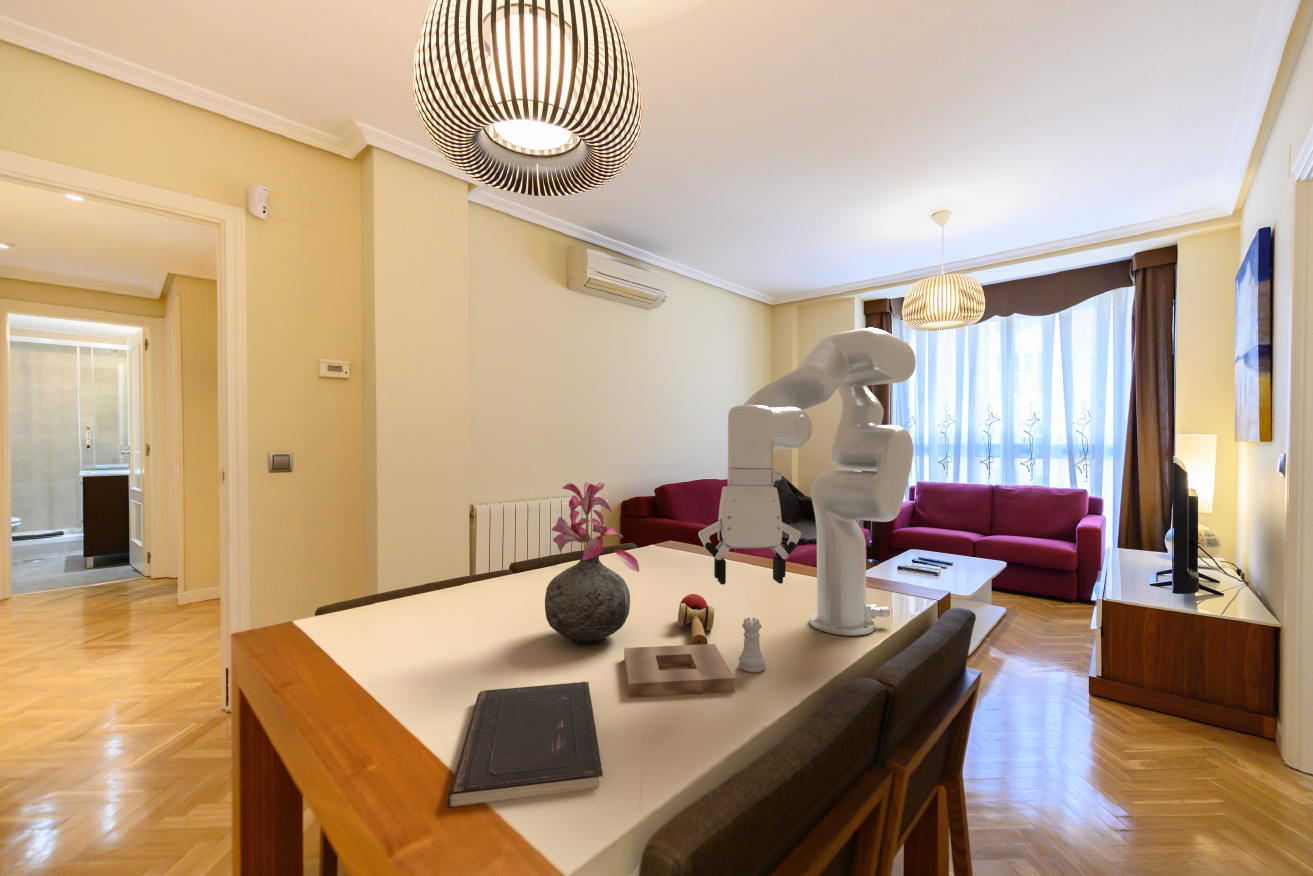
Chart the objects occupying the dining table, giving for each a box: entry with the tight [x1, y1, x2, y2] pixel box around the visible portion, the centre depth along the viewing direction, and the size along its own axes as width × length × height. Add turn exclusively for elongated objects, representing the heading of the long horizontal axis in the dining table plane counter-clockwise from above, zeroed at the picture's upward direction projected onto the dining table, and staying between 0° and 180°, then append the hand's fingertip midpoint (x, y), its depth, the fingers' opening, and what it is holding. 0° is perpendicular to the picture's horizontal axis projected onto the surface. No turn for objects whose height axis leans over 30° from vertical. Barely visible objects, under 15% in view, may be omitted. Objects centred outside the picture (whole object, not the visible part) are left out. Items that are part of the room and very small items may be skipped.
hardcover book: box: [447, 681, 604, 809], centre depth 68 cm, size 16×23×2 cm
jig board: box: [623, 643, 736, 698], centre depth 88 cm, size 16×14×2 cm
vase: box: [544, 481, 640, 646], centre depth 104 cm, size 17×17×30 cm
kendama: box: [677, 593, 715, 645], centre depth 107 cm, size 8×6×18 cm
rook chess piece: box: [738, 617, 766, 674], centre depth 90 cm, size 4×4×8 cm
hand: (749, 582), depth 90 cm, fingers open, 9 cm apart
